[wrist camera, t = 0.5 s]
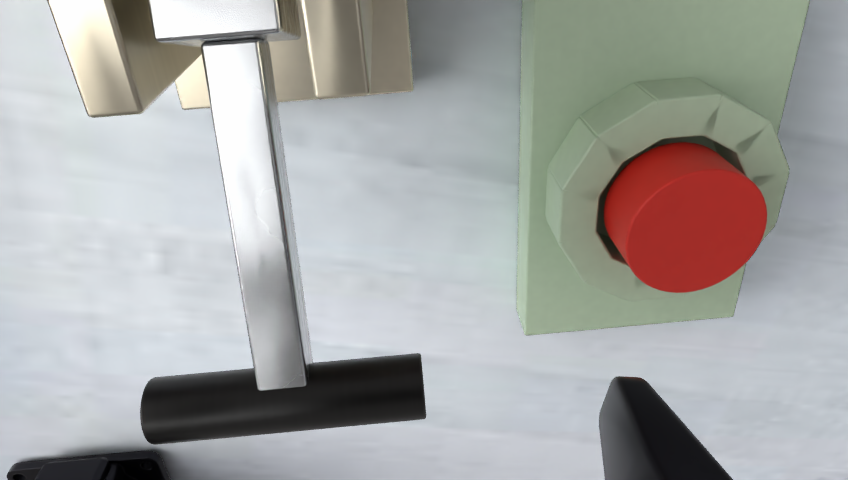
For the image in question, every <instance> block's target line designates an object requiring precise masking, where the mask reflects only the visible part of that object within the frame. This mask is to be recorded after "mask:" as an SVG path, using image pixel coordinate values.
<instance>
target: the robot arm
mask: <svg viewBox="0 0 848 480" xmlns="http://www.w3.org/2000/svg"><path fill="white" fill-rule="evenodd" d="M599 430H600V439H601V447H602V456H603V465H604V474H605V480H733V479H732V478H731V477H730V476H729V474H728V473H727V472H726V471H725V470H724V469H723V468H722V466H721V465H720V464H719V463H718V462H717V461H716V460H715V459H714V457H713V456H712V455H711V454H710V453H709V452H708V451H707V449H706V448H705V447H704V446H703V445H702V444H701V443H700V441H699V440H698V439H697V438H696V437H695V436H694V435H693V433H692V432H691V431H690V430H689V429H688V428H687V427H686V426H685V424H684V423H683V422H682V421H681V420H680V419H679V418H678V416H677V415H676V414H675V413H674V412H673V411H672V410H671V408H670V407H669V406H668V405H667V404H666V403H665V402H664V400H663V399H662V398H661V397H660V396H659V395H658V394H657V393H656V391H655V390H654V389H653V388H652V387H651V386H650V385H649V383H648V382H647V381H645V380H644V379H642V378H638V377H620V376H619V377H615V378H614V379H613V380H612V382H611V384H610V386H609V389H608V392H607V394H606V397H605V400H604V402H603V405H602V408H601V410H600V415H599ZM7 478H8V480H170V477H169V475H168V472H167V470H166V467H165V465H164V462H163V460H162V458H161V456H160V455H159V454H158V453H156V452H154V451H137V452H126V453H115V454H105V455H94V456H84V457H73V458H63V459H52V460H41V461H31V462H20V463H16V464H14V465H13V466H12V467H11V469H10V470H9V472H8V474H7Z"/></svg>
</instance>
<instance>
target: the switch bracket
mask: <svg viewBox="0 0 848 480" xmlns="http://www.w3.org/2000/svg"><path fill="white" fill-rule="evenodd" d="M47 1H48V4H49V7H50V10H51V12H52V15H53V18H54V21H55V24H56V27H57V29H58V32H59V35H60V38H61V41H62V44H63V46H64V49H65V52H66V55H67V58H68V61H69V64H70V66H71V69H72V72H73V75H74V78H75V81H76V83H77V86H78V89H79V92H80V95H81V98H82V100H83V103H84V106H85V109H86V112H87V114H88V116H89V117H94V118H96V117H109V116H121V115H134V114H141V113H143V112H144V111H145V110H146V109H147V108H148V107H149V106H150V105H151V104H152V103H153V102H154V101H155V100H156V99H157V98H158V97H159V96H160V95H161V94H162V93H163V92H164V91H165V90H166V89H167V88H168V87H169V86H170V85H171V84H172V83H173V82H174V81H175V85H176V88H177V92H178V96H179V99H180V103H181V107H182V109H184V110H189V109H201V108H211V107H210V101H209V95H208V89H207V83H206V77H205V71H204V65H203V59H202V53H201V47H193V46H185V45H177V44H168V43H160V42H157V41H156V40H155V38H154V34H153V28H152V23H151V17H150V12H149V6H148V1H147V0H47ZM297 5H298V13H299V21H300V29H301V38H300V39H298V40H286V41H274V42H268V43H269V46H270V53H271V61H272V68H273V75H274V83H275V90H276V97H277V102H288V101H301V100H313V99H320V100H321V99H334V98H346V97H358V96H367V95H375V94H388V93H400V92H411V91H413V75H412V60H411V46H410V32H409V18H408V4H407V0H297Z"/></svg>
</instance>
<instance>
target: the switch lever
mask: <svg viewBox="0 0 848 480" xmlns="http://www.w3.org/2000/svg"><path fill="white" fill-rule="evenodd" d="M147 1H148V6H149V12H150V17H151V23H152V28H153V34H154V38H155V40H156V41H157V42H160V43H168V44H177V45H185V46H193V47H201V53H202V59H203V65H204V71H205V77H206V83H207V89H208V95H209V101H210V107H211V113H212V119H213V125H214V131H215V137H216V143H217V149H218V155H219V161H220V167H221V173H222V179H223V185H224V191H225V197H226V203H227V209H228V215H229V221H230V227H231V233H232V239H233V245H234V251H235V257H236V263H237V269H238V275H239V281H240V288H241V294H242V300H243V306H244V312H245V318H246V324H247V330H248V336H249V342H250V348H251V354H252V360H253V366H254V368H253V369H242V370H231V371H220V372H209V373H198V374H187V375H176V376H165V377H155V378H153V379H151V380H150V381H149V382H148V383H147V385H146V387H145V389H144V392H143V395H142V400H141V410H140V416H141V426H142V430H143V433H144V436H145V438H146V440H147V441H148V442H149V443H151V444H166V443H176V442H187V441H198V440H208V439H219V438H229V437H240V436H251V435H261V434H272V433H282V432H293V431H304V430H314V429H325V428H335V427H346V426H357V425H367V424H378V423H388V422H399V421H410V420H420V419H425V418H426V407H425V396H424V384H423V373H422V362H421V355H420V354H419V353H417V354H406V355H395V356H384V357H373V358H362V359H351V360H340V361H329V362H318V363H313V359H312V352H311V345H310V337H309V330H308V323H307V316H306V308H305V301H304V294H303V286H302V279H301V272H300V265H299V257H298V250H297V243H296V235H295V228H294V221H293V214H292V206H291V199H290V192H289V184H288V177H287V170H286V163H285V155H284V148H283V141H282V133H281V126H280V119H279V112H278V104H277V97H276V90H275V83H274V75H273V68H272V61H271V53H270V46H269V43H268V42H274V41H286V40H298V39H300V38H301V29H300V21H299V13H298V5H297V0H147Z"/></svg>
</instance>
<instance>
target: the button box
mask: <svg viewBox="0 0 848 480" xmlns="http://www.w3.org/2000/svg"><path fill="white" fill-rule="evenodd" d="M809 3H810V0H522V35H521V88H520V142H519V196H518V249H517V303H516V309H517V312H518V315H519V319H520V322H521V325H522V328H523V331H524V334H525V335H538V334H549V333H560V332H571V331H582V330H593V329H604V328H614V327H625V326H636V325H647V324H658V323H669V322H680V321H691V320H702V319H713V318H724V317H733V315H734V311H735V307H736V303H737V299H738V295H739V291H740V286H741V282H742V278H743V274H744V270H745V266H746V263H745V264H744V265H743V266H742V267H741V268H740V269H739V270H738V271H736V272H735V273H734V274H732V275H731V276H729V277H728V278H726V279H725V280H723V281H721V282H719V283H717V284H715V285H713V286H710V287H708V288H705V289H702V290H697V291H693V292H686V293H672V292H665V291H660V290H658V289H655V288H652V287H650V286H648V285H646V284H645V283H643V282H642V281H641V280H639V279H638V278H637V277H636V276H635V274H634V273H633V272H632V270H631V269H630V267H629V266H628V264H627V263H626V261H625V260H624V258H623V256H622V255H621V253H620V252H619V250H618V249H617V247H616V246H615V244H614V243H613V241H612V240H611V238H610V237H609V234H608V232H607V230H606V227H605V224H604V205H605V200H606V197H607V193H608V191H609V189H610V187H611V185H612V183H613V182H614V180H615V178H616V177H617V176H618V174H619V173H620V172H621V171H622V170H623V169H624V168H625V167H626V166H627V165H628V164H629V163H630V162H631V161H632V160H634V159H635V158H637V157H638V156H640V155H641V154H643V153H645V152H647V151H648V150H650V149H653V148H655V147H658V146H661V145H665V144H670V143H676V142H689V143H696V144H700V145H703V146H706V147H708V148H710V149H712V150H714V151H715V152H717V153H718V154H719V155H720V156H722V157H723V158H724V159H725V160H727V161H728V162H729V163H730V164H732V165H733V166H734V167H735V168H737V169H738V170H739V171H740V172H741V173H743V174H744V175H745V176H746V177H748V178H749V179H750V180H751V181H752V182H754V183H755V184H756V186H757V187H758V188H759V189H760V191H761V193H762V195H763V197H764V200H765V203H766V207H767V224H766V229H765V232H764V235H763V238H762V240H763V239H764V238H765V237H766V236H767V235H768V233H769V232H770V231H771V230H772V229H773V228H774V226H775V224H776V222H777V218H778V214H779V211H780V207H781V203H782V199H783V195H784V191H785V188H786V184H787V180H788V176H789V170H790V169H789V166H788V163H787V161H786V158H785V155H784V153H783V150H782V147H781V145H780V142H779V139H778V137H777V134H778V130H779V126H780V122H781V118H782V114H783V110H784V106H785V101H786V97H787V93H788V89H789V85H790V81H791V77H792V73H793V69H794V65H795V60H796V56H797V52H798V48H799V44H800V40H801V36H802V32H803V28H804V23H805V19H806V15H807V11H808V7H809ZM762 240H761V241H762ZM760 243H761V242H760Z"/></svg>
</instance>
